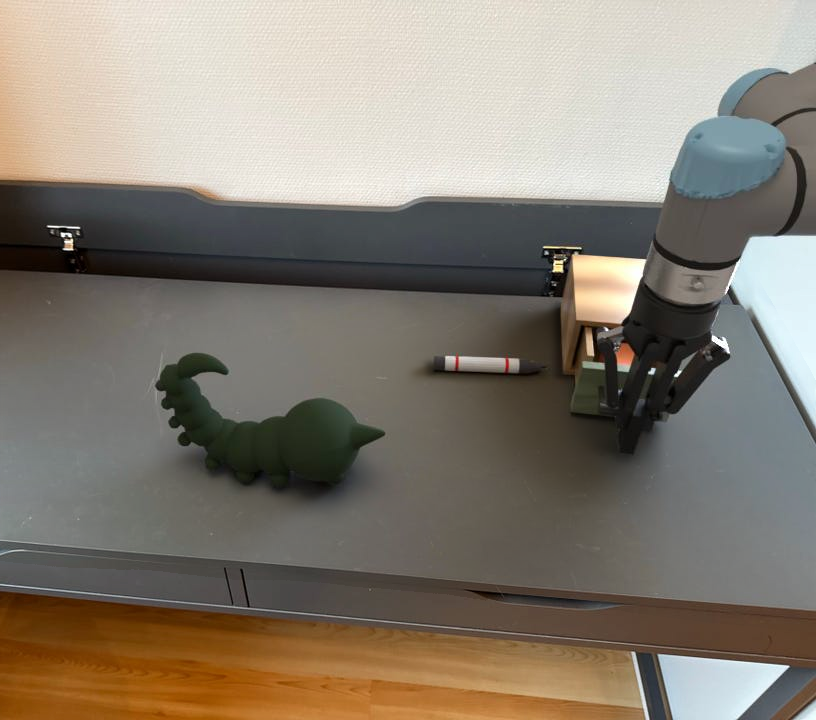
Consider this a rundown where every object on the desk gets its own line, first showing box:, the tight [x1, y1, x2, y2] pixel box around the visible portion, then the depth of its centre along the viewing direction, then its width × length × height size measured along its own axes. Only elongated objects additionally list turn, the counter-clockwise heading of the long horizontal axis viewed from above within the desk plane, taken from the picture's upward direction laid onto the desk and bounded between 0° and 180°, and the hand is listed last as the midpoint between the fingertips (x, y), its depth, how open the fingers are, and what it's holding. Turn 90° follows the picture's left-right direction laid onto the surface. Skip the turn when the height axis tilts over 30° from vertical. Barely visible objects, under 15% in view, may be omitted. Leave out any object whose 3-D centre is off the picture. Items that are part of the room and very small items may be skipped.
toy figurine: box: [154, 352, 386, 488], centre depth 80 cm, size 9×19×25 cm
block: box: [598, 343, 634, 366], centre depth 90 cm, size 4×4×4 cm
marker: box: [433, 355, 549, 374], centre depth 96 cm, size 15×2×2 cm, turn 84°
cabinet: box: [560, 253, 646, 376], centre depth 96 cm, size 15×13×10 cm
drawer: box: [570, 325, 682, 423], centre depth 89 cm, size 18×11×8 cm, turn 168°
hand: (625, 445), depth 83 cm, fingers closed
